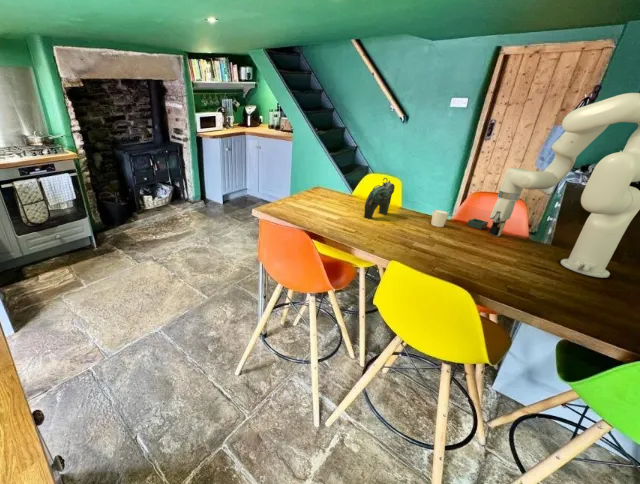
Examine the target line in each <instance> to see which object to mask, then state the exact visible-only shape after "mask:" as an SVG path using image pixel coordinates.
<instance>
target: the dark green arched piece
mask: <svg viewBox="0 0 640 484" xmlns="http://www.w3.org/2000/svg"><path fill="white" fill-rule="evenodd" d="M384 180H386V182H384ZM394 192H395V184H394V183H391V181H390V179H389V180H388V178H387V177H383V179H382V184H381V185H380V184H377V185H375V186H374V187H372V190H371V191H370V192H369V193H368V194H367V195H368V196H367V198H366V201H365V204H364V215H363V217H364V218H365V219H368V220H370V219H373V216H374V213H375V211H376V209H377V208H378V214H381V215H383V216H384V215H388V212H389V208H390V204H391V201H392V196H393V194H394Z"/></svg>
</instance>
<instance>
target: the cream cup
mask: <svg viewBox="0 0 640 484" xmlns="http://www.w3.org/2000/svg"><path fill="white" fill-rule="evenodd" d="M449 215H450V213H449V212H448V211H446V210H441V209H432V215H431V221H430V225H432V226H434V227H438V228H444V227H445V224H446V222H447V220H448V217H449Z"/></svg>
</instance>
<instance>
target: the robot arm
mask: <svg viewBox="0 0 640 484" xmlns="http://www.w3.org/2000/svg"><path fill="white" fill-rule="evenodd" d="M618 123H635V124H637V125H638V126H637V128H636V129H635V130H634V132H632V133H631V135H630V136H629V138H628V139H627V142H626V144H625V146H624V148H623V150H622V151H617V152H613V153H610V154H607V155H605V156H604V157H603V158H602V159H600V160H599V161H598V162H597V164H596V165H595V166H594V168H593V170H592V173H591V175H590V176H589V178H588V181H587V183H586V184H585V187H584V189H583V191H582V193H581V196H580V204H581V207H582V208H583V209H584V210H585V211H587V212H588V213H590V214H589V216H588V217H587V219H586V221H585V222H584V224H583V227H582V229H581V231H580V233H579V235H578V238H577V239H576V242H575V244H574V246H573V248H572V250H571V252H570V255H569V257H568V258H563V259H561V260H560V264H561V266H563V267H564V268H566V269H568V270H571V271H572V272H575V273H577V274H581V275H585V276H589V277H594V278H601V279H603V278H604V279H605V278H609V277H610V275H611V273H610V272H609V270H607V269H606V268H607V266H608V264H609V263H610V261H611V259H612V257H613V255H614V253H615V251H616V249H617V248H618V245H619V243H620V241H621V240H622V238H623V236H624V235H625V232H626V231H627V229H628V227H629V226H630V223H631V222H632V221H633V219H634V217H635V216H636V215H637V214H638V212H639V211H640V190H639V188H637V187H635V186H631V183H635V182H640V92H627V93H622V94H617V95H614V96H612V97H608V98H605V99H602V100H599V101H596V102H592V103H589V104H587V105H584V106H581V107H578V108H576V109H573V110H572V111H570V112H569V113H567V114H566V116H565V117H564V118H563V120H562V121H561V127H562V129H563V130H564V132H563V133H562V135H560V136H559V138H558V139H556V141H554V142H553V143H552V145H551V150H552V151H553V152H554V157H553V160H552V161H551V162H550V164H549V165H548V166H547V167H546V168H544V170H527V169H525V168H520V167H509V168H507V169H506V171H505V173H504V177H503V179H502V182H501V186H500V188H499V191H498V194H497V200H496V201H495V203H494V206H493V208H492V210H491V213H490V216H489V219H490V220H492V221H491V222H492V223H491V227H490V229H489V233H488V234H489V235H490V234H492V235H491V236H494V235H495V236H494V237H497V235H498V233H499V230H500V225H501V223H505V224H504V227H505V225H506V222H507V221H508V220H509V219H510V218H511V217H512V214H513V211H514V208H515V205H516V202H519V200H520V197H521V196H522V191H523V189H524V190H529V191H531V190H548V189H551V188H553V187H554V186H556V185H558V183H560V182H561V181H562V180H563V179H564V178H565V177H566V176H567V175H568V174H569V173H570V172H571V170H572V169H573V167H574V165H575V163H576V160H577V157H578V156H579V155H580V154H581V153H582V152H583V151H585V150H586V148H588V146H589V145H590V144H591V143H593V142H594V141H595V139H597V138H598V137H599V136H600V135H601V134H602V133H603V132H604V131H605V130H606V129H607V128H608V127H609V126H610V125H613V124H618ZM498 222H499V224H498ZM504 227H503V230H504ZM503 230H502V232H503Z"/></svg>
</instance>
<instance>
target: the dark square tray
mask: <svg viewBox="0 0 640 484" xmlns="http://www.w3.org/2000/svg"><path fill="white" fill-rule="evenodd" d="M488 225H489V222H488V221H485V220H481V219H478V218H471V219H469V220H468V222H467V224H466V226H467V227H470V228H474V229H477V230H485V229H486V228H487V227H488Z"/></svg>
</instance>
